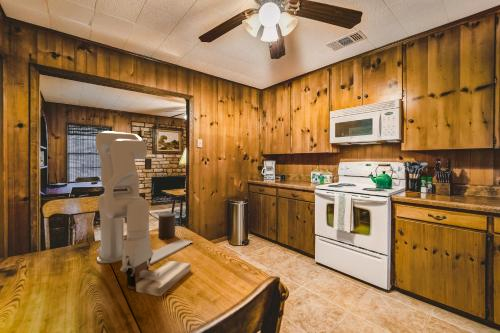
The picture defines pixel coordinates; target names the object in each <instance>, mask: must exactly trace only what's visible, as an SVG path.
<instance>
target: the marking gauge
mask: <svg viewBox="0 0 500 333" xmlns="http://www.w3.org/2000/svg"><path fill="white" fill-rule="evenodd" d="M130 271H132V268H130ZM154 271H155V270H147V261H145V262H144V263H142V264H140V265H138V266H137V267H136V268H135V273H134V275H135V286H134V287H133V286H128V289H130V290H133V291H136V283H137V282H139V281H140V280H142V279H143V278H146V279H151V280H157V279H158V278H159V272H154Z"/></svg>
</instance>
